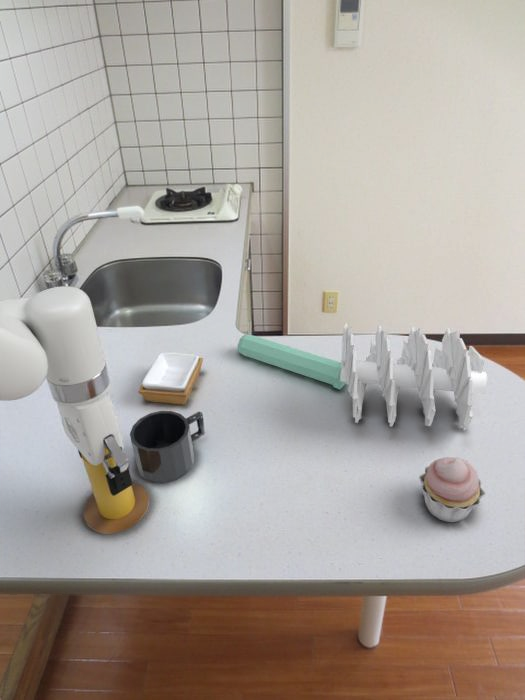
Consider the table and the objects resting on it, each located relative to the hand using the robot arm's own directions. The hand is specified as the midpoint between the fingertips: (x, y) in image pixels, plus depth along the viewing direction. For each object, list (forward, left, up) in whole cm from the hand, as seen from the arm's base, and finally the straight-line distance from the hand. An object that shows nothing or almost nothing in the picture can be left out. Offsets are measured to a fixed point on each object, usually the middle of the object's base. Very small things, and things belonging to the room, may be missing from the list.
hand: (105, 470), depth 78 cm
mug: (+4, +13, -8) cm, 16 cm away
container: (+16, +43, -9) cm, 47 cm away
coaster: (0, 0, -8) cm, 8 cm away
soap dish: (-5, +30, -9) cm, 32 cm away
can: (0, 0, -8) cm, 8 cm away
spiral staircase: (+41, +35, -9) cm, 55 cm away
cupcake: (+49, +15, -9) cm, 52 cm away
